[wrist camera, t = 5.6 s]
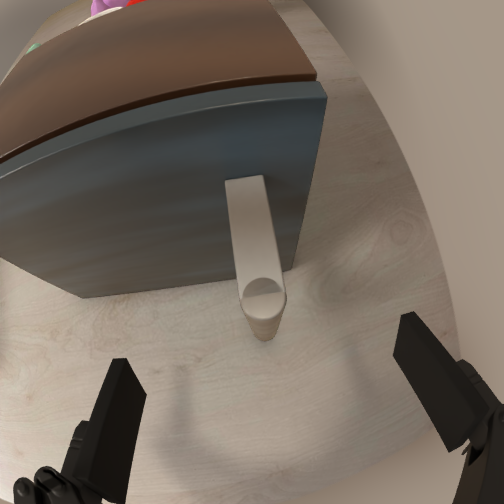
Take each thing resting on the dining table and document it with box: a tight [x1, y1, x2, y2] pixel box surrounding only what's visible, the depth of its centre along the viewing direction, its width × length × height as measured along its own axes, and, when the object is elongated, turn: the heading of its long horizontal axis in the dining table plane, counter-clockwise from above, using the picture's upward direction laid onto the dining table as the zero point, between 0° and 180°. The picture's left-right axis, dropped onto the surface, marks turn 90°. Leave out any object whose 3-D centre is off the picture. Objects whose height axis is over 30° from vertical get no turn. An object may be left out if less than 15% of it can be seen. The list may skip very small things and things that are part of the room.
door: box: [0, 81, 328, 341], centre depth 15 cm, size 7×20×18 cm, turn 98°
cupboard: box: [0, 0, 317, 164], centre depth 19 cm, size 15×20×18 cm
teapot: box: [91, 0, 130, 16], centre depth 49 cm, size 20×14×12 cm
